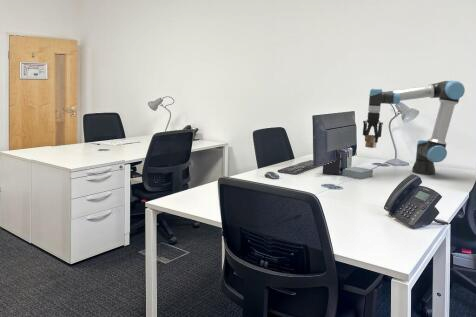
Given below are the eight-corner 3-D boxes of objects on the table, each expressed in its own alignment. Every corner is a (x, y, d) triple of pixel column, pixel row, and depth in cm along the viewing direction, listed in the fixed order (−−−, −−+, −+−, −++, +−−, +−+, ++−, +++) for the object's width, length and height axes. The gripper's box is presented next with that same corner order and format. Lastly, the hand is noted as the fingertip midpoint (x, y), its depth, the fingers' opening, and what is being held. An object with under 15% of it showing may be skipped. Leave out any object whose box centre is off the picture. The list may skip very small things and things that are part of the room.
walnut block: (375, 147, 278) (377, 135, 277) (372, 148, 275) (373, 136, 273) (369, 146, 282) (370, 134, 280) (365, 146, 278) (366, 135, 277)
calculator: (338, 173, 284) (339, 152, 281) (339, 175, 280) (340, 153, 277) (322, 173, 285) (323, 151, 282) (323, 174, 281) (324, 152, 278)
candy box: (337, 167, 306) (338, 145, 303) (344, 167, 307) (346, 145, 304) (343, 171, 293) (344, 148, 290) (351, 171, 293) (352, 148, 290)
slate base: (372, 177, 277) (372, 169, 276) (360, 179, 268) (360, 172, 267) (354, 173, 287) (355, 166, 286) (342, 176, 278) (342, 168, 277)
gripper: (358, 111, 278) (355, 145, 282) (383, 113, 265) (379, 149, 269) (365, 111, 283) (361, 144, 287) (389, 113, 270) (385, 148, 274)
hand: (370, 146), depth 278 cm, fingers closed on walnut block, 5 cm apart
